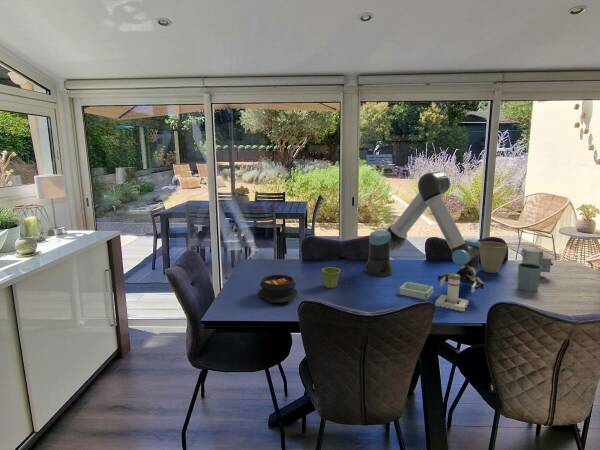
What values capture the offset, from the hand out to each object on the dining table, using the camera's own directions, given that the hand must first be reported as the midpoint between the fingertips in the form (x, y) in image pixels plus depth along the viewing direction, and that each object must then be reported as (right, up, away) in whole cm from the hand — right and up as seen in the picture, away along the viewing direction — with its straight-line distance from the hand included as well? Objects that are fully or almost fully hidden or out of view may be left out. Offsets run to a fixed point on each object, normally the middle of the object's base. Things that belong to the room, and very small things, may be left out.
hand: (456, 286), depth 176 cm
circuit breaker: (+60, -1, +40) cm, 72 cm away
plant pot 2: (+40, +1, +49) cm, 63 cm away
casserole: (-81, -6, +10) cm, 82 cm away
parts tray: (-14, -5, +14) cm, 21 cm away
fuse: (-2, -8, 0) cm, 9 cm away
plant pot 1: (-55, -4, +23) cm, 60 cm away
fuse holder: (-2, -8, 0) cm, 8 cm away
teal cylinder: (+44, -4, +21) cm, 49 cm away
